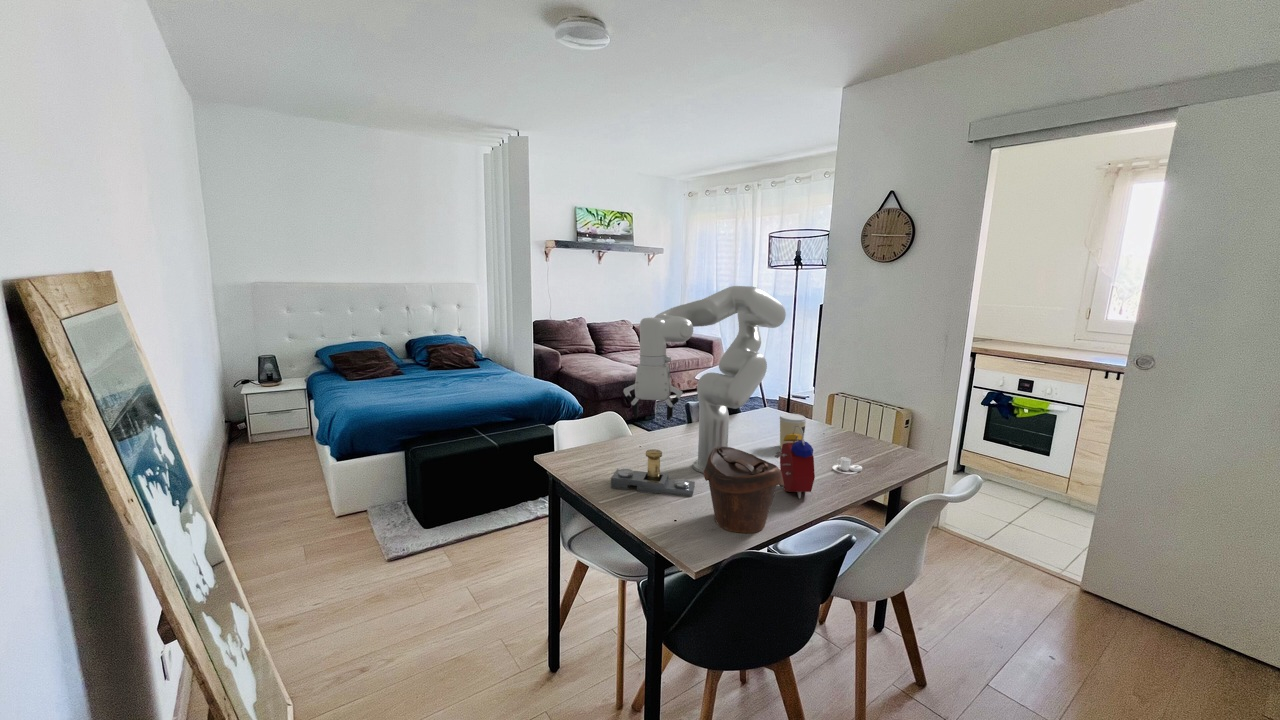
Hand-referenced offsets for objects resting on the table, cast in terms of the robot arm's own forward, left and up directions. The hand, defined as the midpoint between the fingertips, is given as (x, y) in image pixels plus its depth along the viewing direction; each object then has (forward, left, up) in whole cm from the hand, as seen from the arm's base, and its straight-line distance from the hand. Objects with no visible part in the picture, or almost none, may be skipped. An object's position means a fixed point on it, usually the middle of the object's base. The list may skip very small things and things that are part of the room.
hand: (652, 418), depth 150 cm
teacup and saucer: (-61, -25, -22) cm, 69 cm away
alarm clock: (-41, -6, -21) cm, 46 cm away
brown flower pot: (-27, +17, -21) cm, 38 cm away
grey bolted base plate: (-1, +1, -21) cm, 21 cm away
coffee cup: (-44, -46, -21) cm, 67 cm away
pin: (-1, +1, -21) cm, 21 cm away
